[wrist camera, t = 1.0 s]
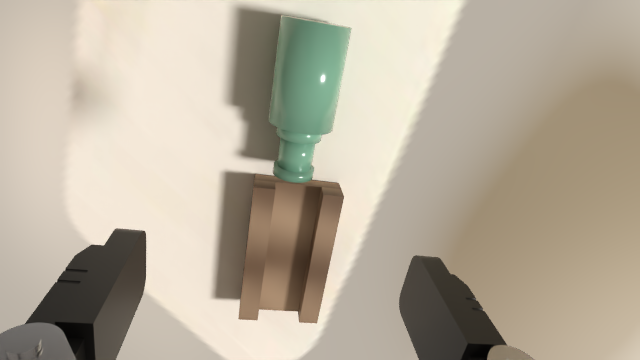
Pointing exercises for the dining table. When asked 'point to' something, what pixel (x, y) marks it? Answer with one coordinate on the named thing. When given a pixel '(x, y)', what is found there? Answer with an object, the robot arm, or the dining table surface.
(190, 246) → the dining table surface
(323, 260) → the bottle rest
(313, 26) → the bottle
